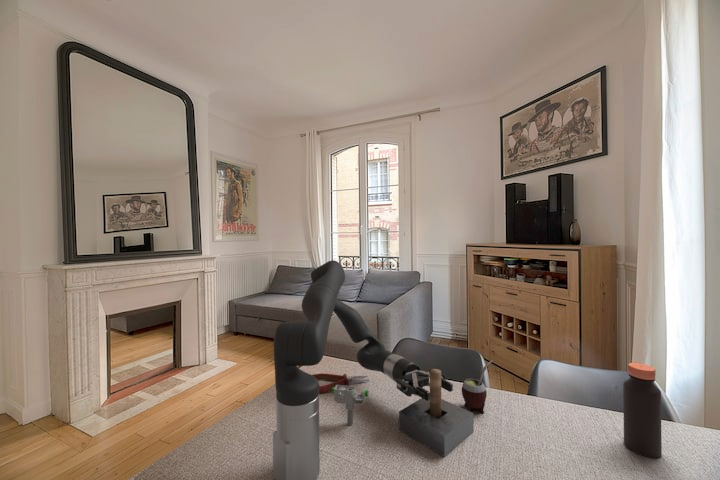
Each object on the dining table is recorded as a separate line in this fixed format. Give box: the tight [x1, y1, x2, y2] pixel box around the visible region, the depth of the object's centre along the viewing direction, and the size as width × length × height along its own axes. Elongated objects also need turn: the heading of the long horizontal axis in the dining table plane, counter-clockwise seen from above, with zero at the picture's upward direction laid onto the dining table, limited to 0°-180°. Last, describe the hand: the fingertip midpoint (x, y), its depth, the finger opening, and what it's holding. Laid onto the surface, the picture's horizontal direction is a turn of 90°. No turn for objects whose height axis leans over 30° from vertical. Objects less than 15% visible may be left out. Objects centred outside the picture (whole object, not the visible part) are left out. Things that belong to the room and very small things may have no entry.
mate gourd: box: [461, 359, 494, 415], centre depth 92 cm, size 8×8×15 cm
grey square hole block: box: [398, 397, 475, 458], centre depth 81 cm, size 14×14×5 cm
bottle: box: [622, 362, 663, 459], centre depth 74 cm, size 7×7×20 cm
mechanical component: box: [331, 385, 369, 427], centre depth 84 cm, size 3×10×10 cm, turn 79°
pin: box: [429, 368, 442, 419], centre depth 81 cm, size 3×3×16 cm
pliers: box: [312, 372, 370, 395], centre depth 108 cm, size 12×21×3 cm, turn 103°
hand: (440, 392), depth 80 cm, fingers open, 8 cm apart
